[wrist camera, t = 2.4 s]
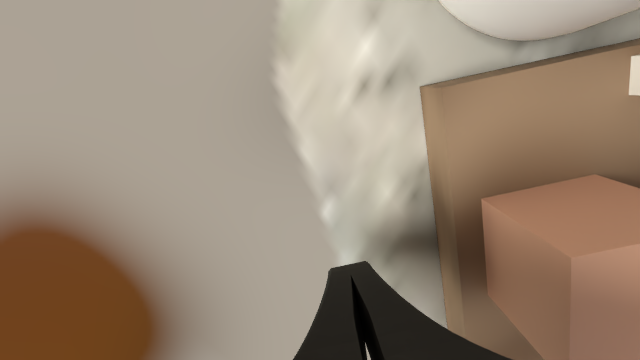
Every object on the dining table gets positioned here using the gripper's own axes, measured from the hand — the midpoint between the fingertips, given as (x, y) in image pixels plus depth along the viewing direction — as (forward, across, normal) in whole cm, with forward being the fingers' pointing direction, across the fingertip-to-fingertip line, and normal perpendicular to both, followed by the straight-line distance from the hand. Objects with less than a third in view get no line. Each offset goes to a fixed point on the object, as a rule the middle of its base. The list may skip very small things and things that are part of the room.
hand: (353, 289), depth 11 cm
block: (+1, -7, 0) cm, 7 cm away
